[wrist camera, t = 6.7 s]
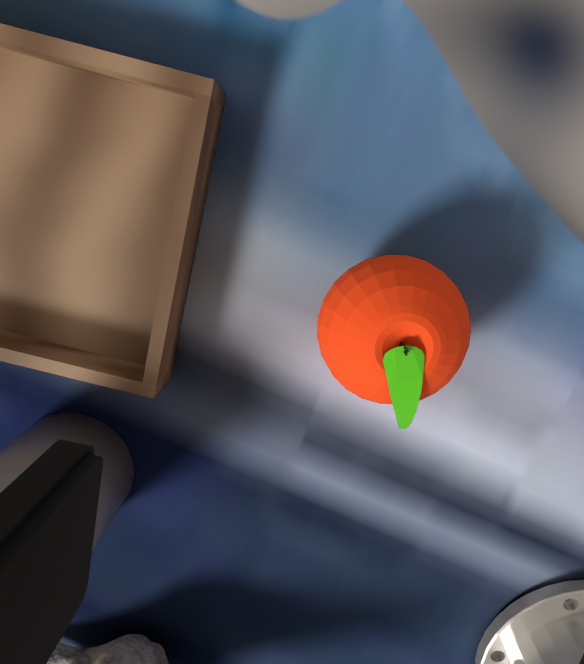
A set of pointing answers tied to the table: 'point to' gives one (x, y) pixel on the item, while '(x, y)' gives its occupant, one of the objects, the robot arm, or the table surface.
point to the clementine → (394, 331)
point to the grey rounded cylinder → (81, 429)
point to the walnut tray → (98, 208)
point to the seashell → (112, 652)
